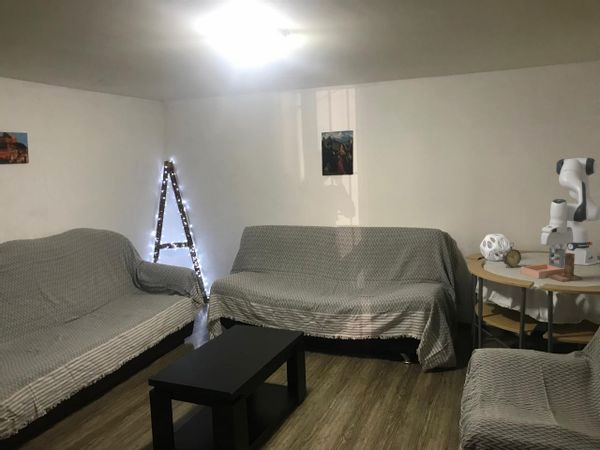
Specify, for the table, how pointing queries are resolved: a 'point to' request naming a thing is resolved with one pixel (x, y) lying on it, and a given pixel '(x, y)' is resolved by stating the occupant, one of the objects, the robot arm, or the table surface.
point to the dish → (541, 270)
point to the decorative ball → (494, 246)
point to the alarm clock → (511, 257)
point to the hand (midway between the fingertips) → (556, 251)
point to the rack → (566, 269)
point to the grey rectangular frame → (561, 257)
